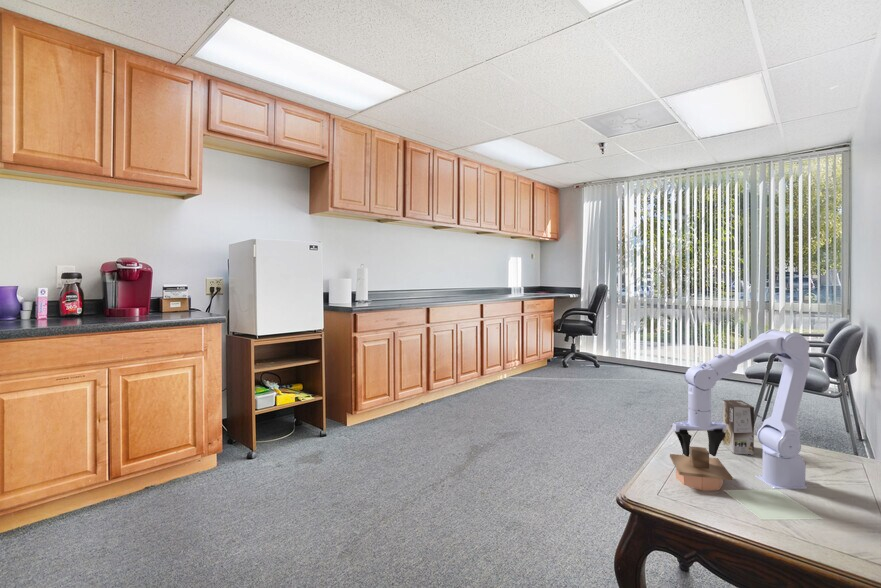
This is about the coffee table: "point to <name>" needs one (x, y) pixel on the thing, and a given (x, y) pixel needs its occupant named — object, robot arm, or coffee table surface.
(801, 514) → the mat
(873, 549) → the coffee table surface
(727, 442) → the coffee box
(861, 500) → the coffee table surface
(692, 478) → the bowl
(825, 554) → the coffee table surface
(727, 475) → the lid
